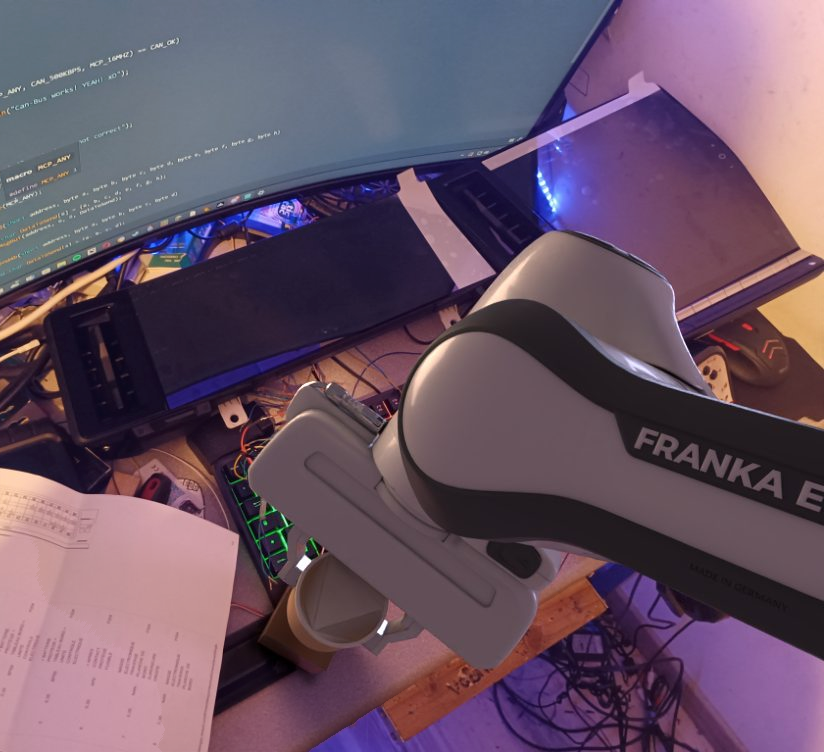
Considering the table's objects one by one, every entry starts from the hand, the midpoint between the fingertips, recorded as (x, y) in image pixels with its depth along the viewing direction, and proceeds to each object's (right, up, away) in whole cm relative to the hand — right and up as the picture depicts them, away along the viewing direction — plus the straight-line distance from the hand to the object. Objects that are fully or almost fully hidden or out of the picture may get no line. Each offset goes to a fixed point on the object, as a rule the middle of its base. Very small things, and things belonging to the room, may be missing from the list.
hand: (329, 611), depth 50 cm
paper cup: (0, -1, +4) cm, 4 cm away
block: (-3, -9, +21) cm, 23 cm away
